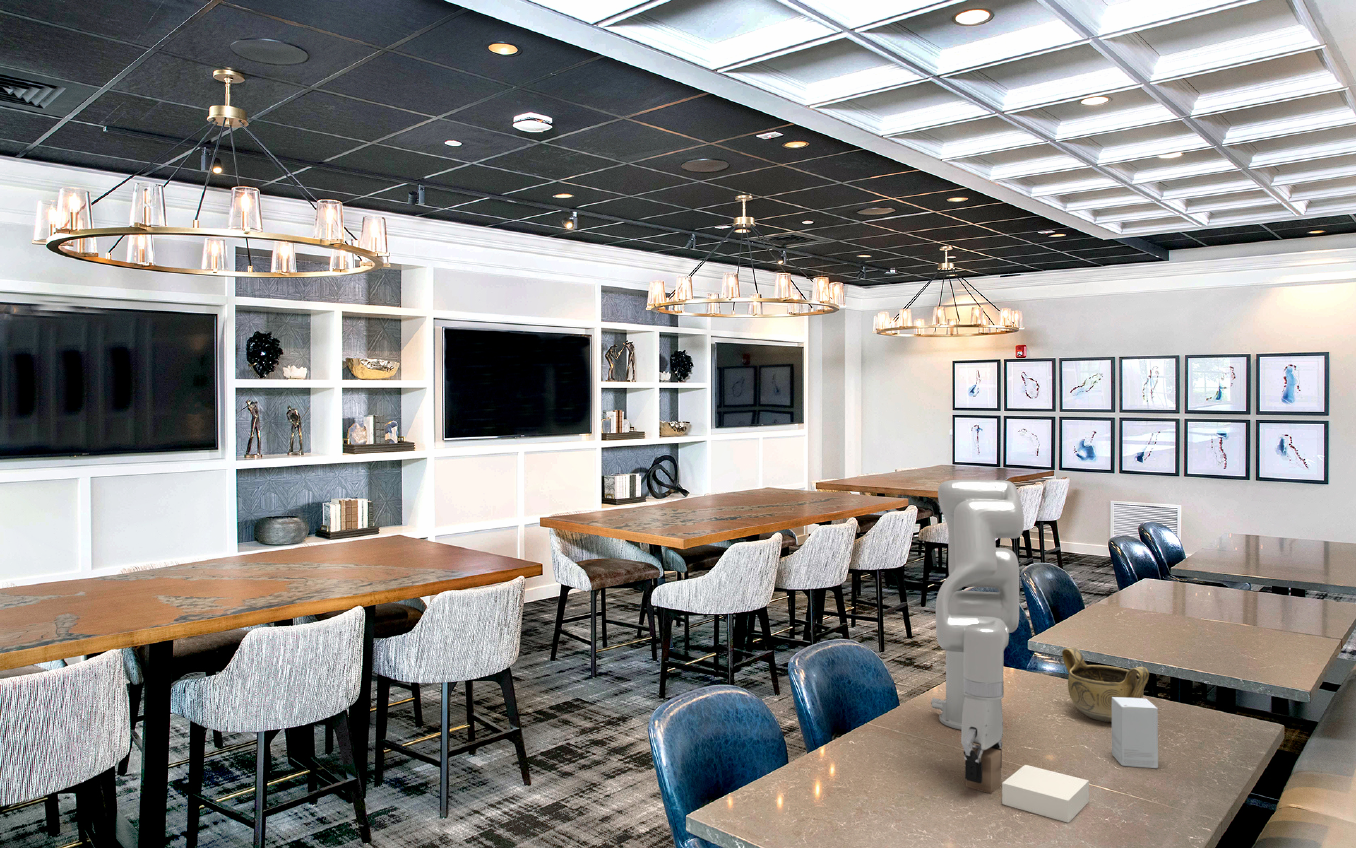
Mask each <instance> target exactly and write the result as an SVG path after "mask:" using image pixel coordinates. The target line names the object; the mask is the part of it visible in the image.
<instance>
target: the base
mask: <svg viewBox="0 0 1356 848" xmlns="http://www.w3.org/2000/svg"><path fill="white" fill-rule="evenodd" d="M1001 786H1002V787H1001V802H1002V803H1001V804H1002V805H1005V806H1007V807H1011V808H1015V809H1019V810H1021V811H1025V812H1028V813H1032V814H1036V815H1040V816H1042V817H1046V818H1050V819H1053V820H1058V821H1060V822H1064V823H1068V824H1069V823H1070V822H1071V821H1072V820H1073V819H1074V817H1076V815H1078V814H1079V813H1080V812H1081V810H1082V809H1083V808H1084V807H1086V806H1087V804H1088V803H1089V802H1090V780H1088V779H1084V778H1081V777H1080V778H1079V777H1076V776H1073V775H1068V774H1064V773H1061V772H1056V771H1052V770H1049V769H1045V768H1040V767H1037V766H1031V765H1028V764H1024V765H1023V766H1021V767H1020V768H1019V769H1018V770H1017V771H1015V772H1014V773H1013V774H1011V775H1010V776H1009V777H1008V778H1006V779H1005V780H1004V781H1002V782H1001Z"/></svg>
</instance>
